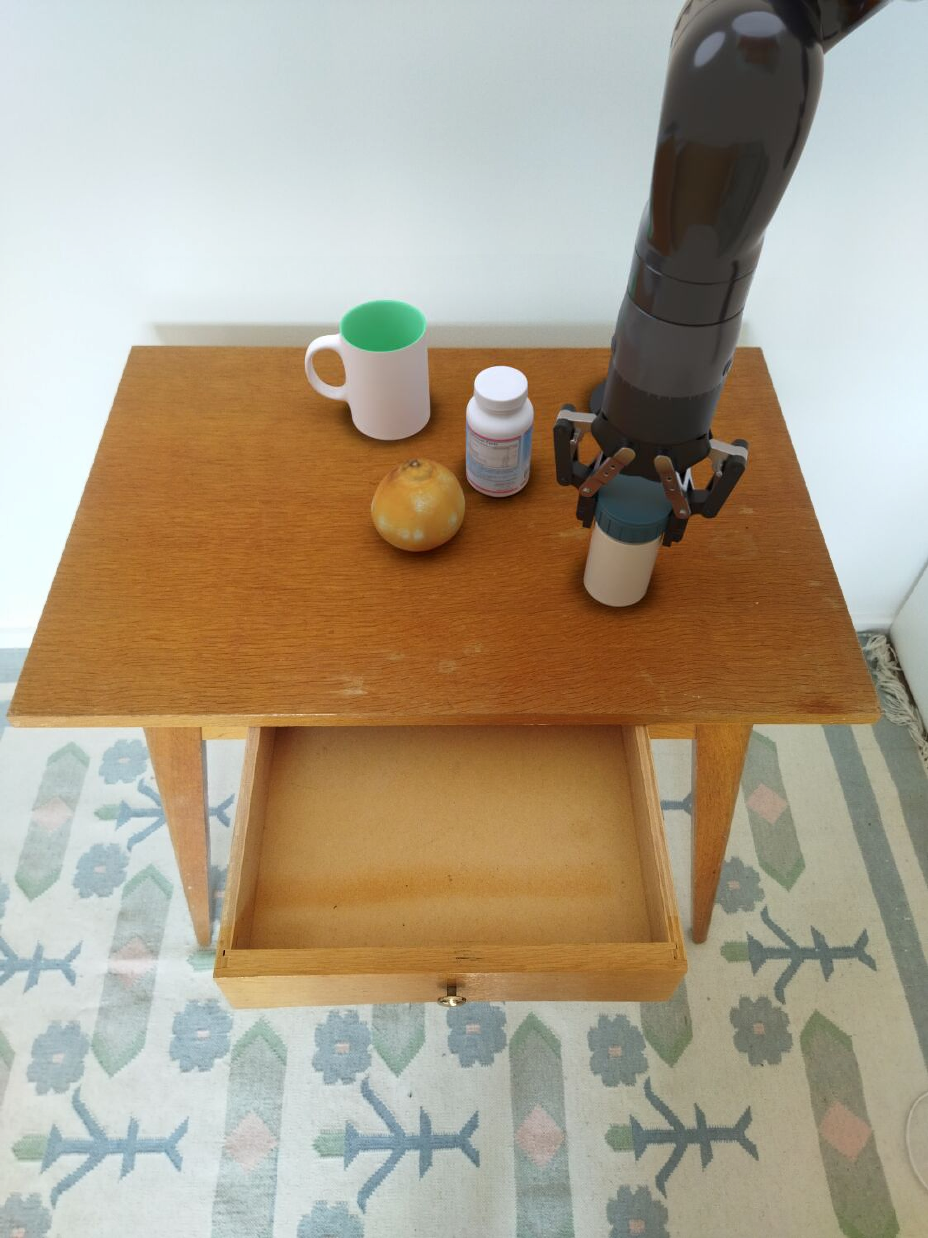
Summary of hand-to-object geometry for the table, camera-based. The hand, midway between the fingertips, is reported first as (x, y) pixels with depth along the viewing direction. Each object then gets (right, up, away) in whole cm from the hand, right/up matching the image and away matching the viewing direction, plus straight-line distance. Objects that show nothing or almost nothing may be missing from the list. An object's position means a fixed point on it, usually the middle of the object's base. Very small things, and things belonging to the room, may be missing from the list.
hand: (627, 529), depth 66 cm
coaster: (+5, +14, +19) cm, 24 cm away
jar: (0, -4, +6) cm, 7 cm away
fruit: (-17, +1, +9) cm, 20 cm away
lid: (0, +2, -3) cm, 3 cm away
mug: (-23, +14, +19) cm, 32 cm away
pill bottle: (-10, +6, +13) cm, 18 cm away
